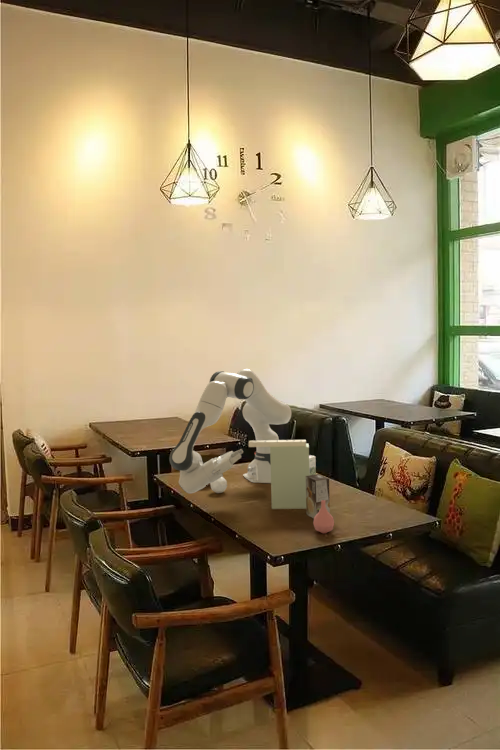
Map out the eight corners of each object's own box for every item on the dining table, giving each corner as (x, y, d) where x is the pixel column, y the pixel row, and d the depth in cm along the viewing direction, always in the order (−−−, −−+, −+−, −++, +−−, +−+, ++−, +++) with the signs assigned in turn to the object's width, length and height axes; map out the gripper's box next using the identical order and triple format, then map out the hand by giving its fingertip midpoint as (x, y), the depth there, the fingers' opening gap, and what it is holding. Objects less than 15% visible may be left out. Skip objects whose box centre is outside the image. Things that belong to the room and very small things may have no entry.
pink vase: (315, 528, 247) (315, 497, 246) (335, 529, 244) (335, 498, 243) (311, 535, 239) (311, 503, 238) (332, 536, 237) (331, 504, 236)
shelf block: (271, 508, 274) (270, 447, 271) (272, 503, 281) (270, 443, 279) (310, 508, 272) (308, 447, 270) (309, 503, 280) (308, 443, 278)
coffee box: (330, 518, 258) (330, 478, 257) (316, 520, 256) (315, 480, 255) (319, 512, 267) (318, 473, 266) (305, 514, 264) (304, 475, 263)
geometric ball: (218, 499, 300) (211, 488, 295) (212, 489, 306) (205, 478, 302) (232, 490, 301) (225, 479, 296) (225, 480, 307) (219, 469, 303)
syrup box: (305, 484, 312) (304, 454, 311) (316, 485, 309) (315, 455, 307) (299, 487, 307) (298, 456, 306) (310, 488, 304) (309, 458, 303)
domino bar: (248, 447, 274) (248, 442, 274) (249, 445, 278) (249, 440, 278) (306, 446, 272) (305, 441, 272) (305, 444, 276) (305, 439, 276)
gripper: (206, 469, 268) (235, 451, 266) (213, 457, 288) (239, 441, 286) (215, 481, 268) (243, 464, 266) (220, 469, 288) (247, 454, 287)
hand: (241, 452), depth 277 cm, fingers open, 8 cm apart
